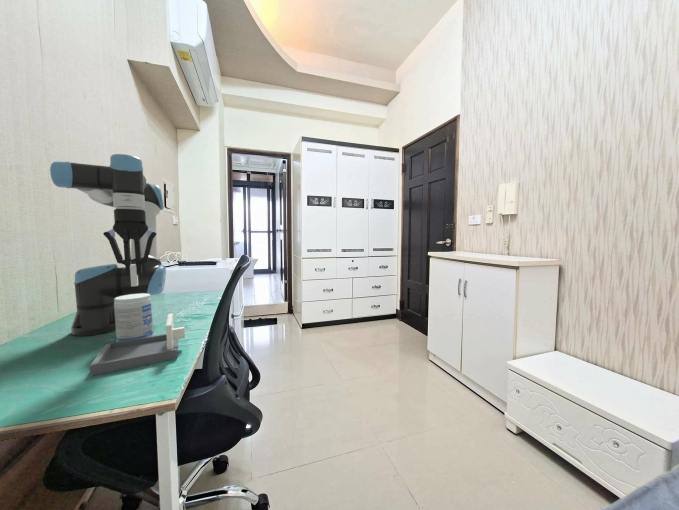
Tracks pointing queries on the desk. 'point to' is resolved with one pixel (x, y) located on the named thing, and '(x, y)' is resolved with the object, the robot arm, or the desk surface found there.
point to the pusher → (173, 332)
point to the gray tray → (133, 354)
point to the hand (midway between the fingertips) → (134, 285)
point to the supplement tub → (133, 316)
